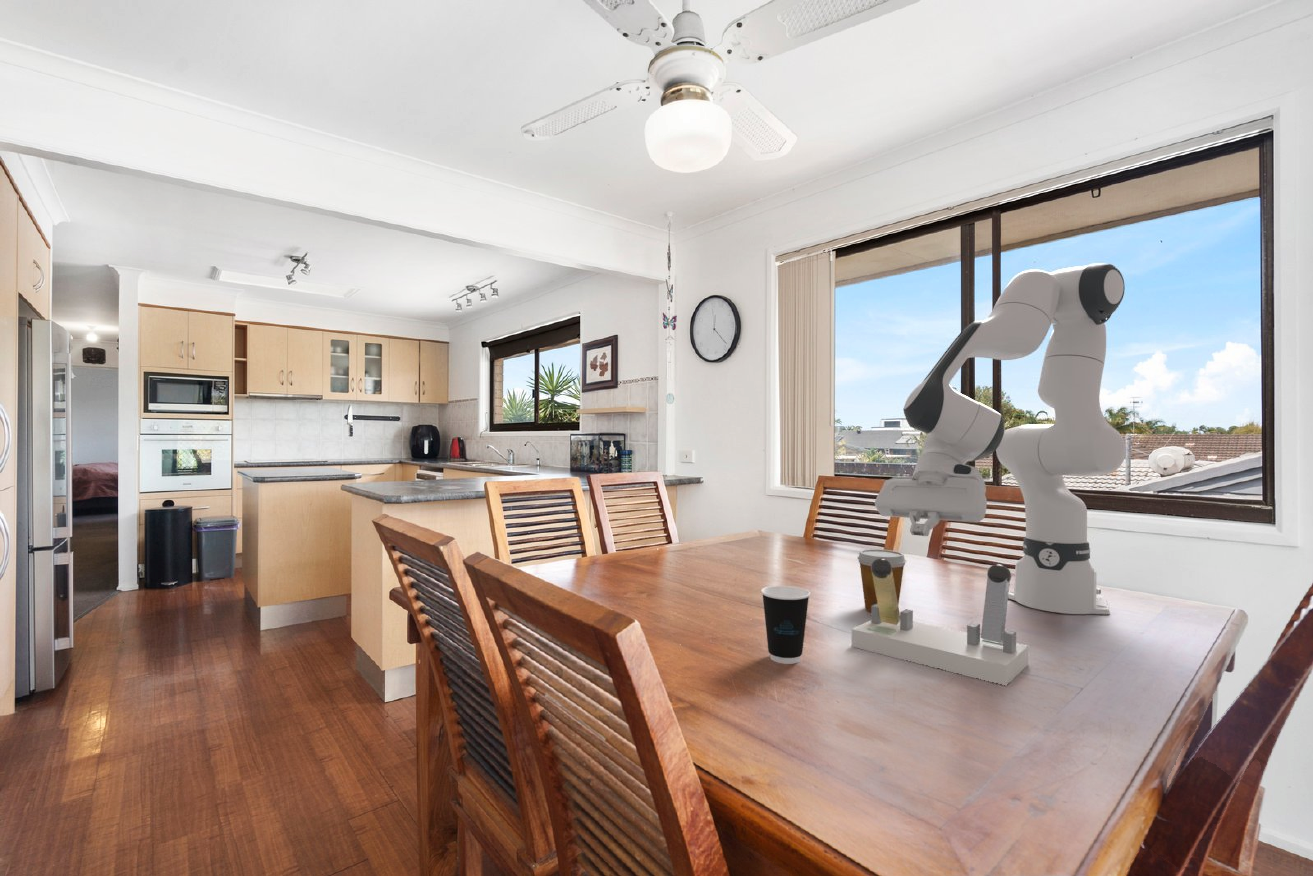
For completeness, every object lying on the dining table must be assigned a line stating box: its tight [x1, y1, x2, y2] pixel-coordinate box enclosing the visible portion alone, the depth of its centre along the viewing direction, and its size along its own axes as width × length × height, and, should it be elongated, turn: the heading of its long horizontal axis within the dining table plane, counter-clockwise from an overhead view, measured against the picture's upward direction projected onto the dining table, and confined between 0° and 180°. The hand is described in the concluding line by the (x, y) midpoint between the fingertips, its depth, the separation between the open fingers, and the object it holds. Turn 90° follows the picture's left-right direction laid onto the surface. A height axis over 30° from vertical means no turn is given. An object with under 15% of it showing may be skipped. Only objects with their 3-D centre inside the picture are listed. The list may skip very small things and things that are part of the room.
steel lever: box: [980, 563, 1012, 643], centre depth 99 cm, size 3×3×12 cm
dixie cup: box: [760, 585, 812, 665], centre depth 101 cm, size 8×8×11 cm
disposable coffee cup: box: [857, 548, 907, 613], centre depth 129 cm, size 10×10×12 cm
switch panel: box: [851, 604, 1029, 687], centre depth 103 cm, size 12×24×6 cm, turn 46°
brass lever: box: [871, 558, 901, 625], centre depth 107 cm, size 3×3×12 cm
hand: (918, 533), depth 118 cm, fingers closed
